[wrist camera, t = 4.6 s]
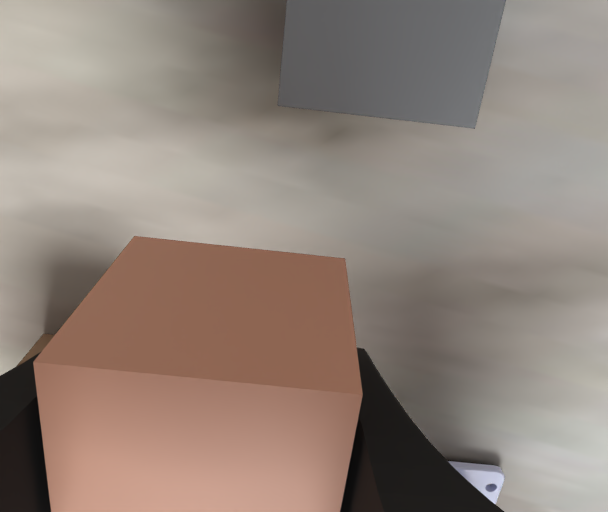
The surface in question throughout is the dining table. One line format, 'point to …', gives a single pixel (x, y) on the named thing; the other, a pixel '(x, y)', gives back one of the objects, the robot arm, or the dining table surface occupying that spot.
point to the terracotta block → (203, 384)
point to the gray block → (390, 57)
